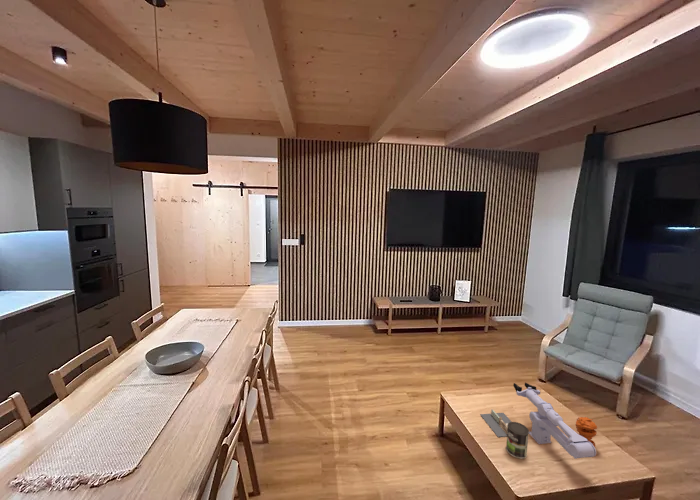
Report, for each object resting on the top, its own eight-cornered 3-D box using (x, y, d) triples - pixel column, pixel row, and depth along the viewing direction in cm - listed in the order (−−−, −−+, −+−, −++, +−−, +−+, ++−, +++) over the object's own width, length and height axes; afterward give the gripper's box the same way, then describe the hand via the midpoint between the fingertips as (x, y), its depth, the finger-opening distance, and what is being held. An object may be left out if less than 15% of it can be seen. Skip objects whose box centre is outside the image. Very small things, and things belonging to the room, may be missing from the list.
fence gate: (500, 423, 190) (500, 417, 189) (498, 423, 189) (498, 418, 189) (492, 414, 198) (492, 409, 198) (490, 414, 198) (490, 409, 198)
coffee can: (517, 461, 162) (519, 436, 160) (501, 447, 171) (503, 424, 170) (531, 455, 165) (533, 432, 164) (515, 442, 175) (517, 419, 173)
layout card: (523, 435, 180) (523, 434, 180) (498, 437, 179) (498, 436, 179) (503, 413, 200) (503, 412, 200) (480, 415, 199) (480, 414, 199)
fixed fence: (510, 435, 180) (510, 427, 179) (507, 435, 180) (508, 427, 179) (500, 424, 189) (501, 416, 189) (498, 424, 189) (498, 416, 188)
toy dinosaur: (586, 456, 165) (589, 426, 163) (567, 442, 175) (570, 413, 173) (601, 452, 168) (605, 422, 166) (582, 438, 178) (584, 409, 176)
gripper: (546, 391, 182) (530, 378, 196) (524, 393, 181) (509, 379, 194) (544, 402, 184) (529, 387, 197) (522, 403, 182) (508, 389, 195)
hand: (519, 384), depth 196 cm, fingers open, 7 cm apart
